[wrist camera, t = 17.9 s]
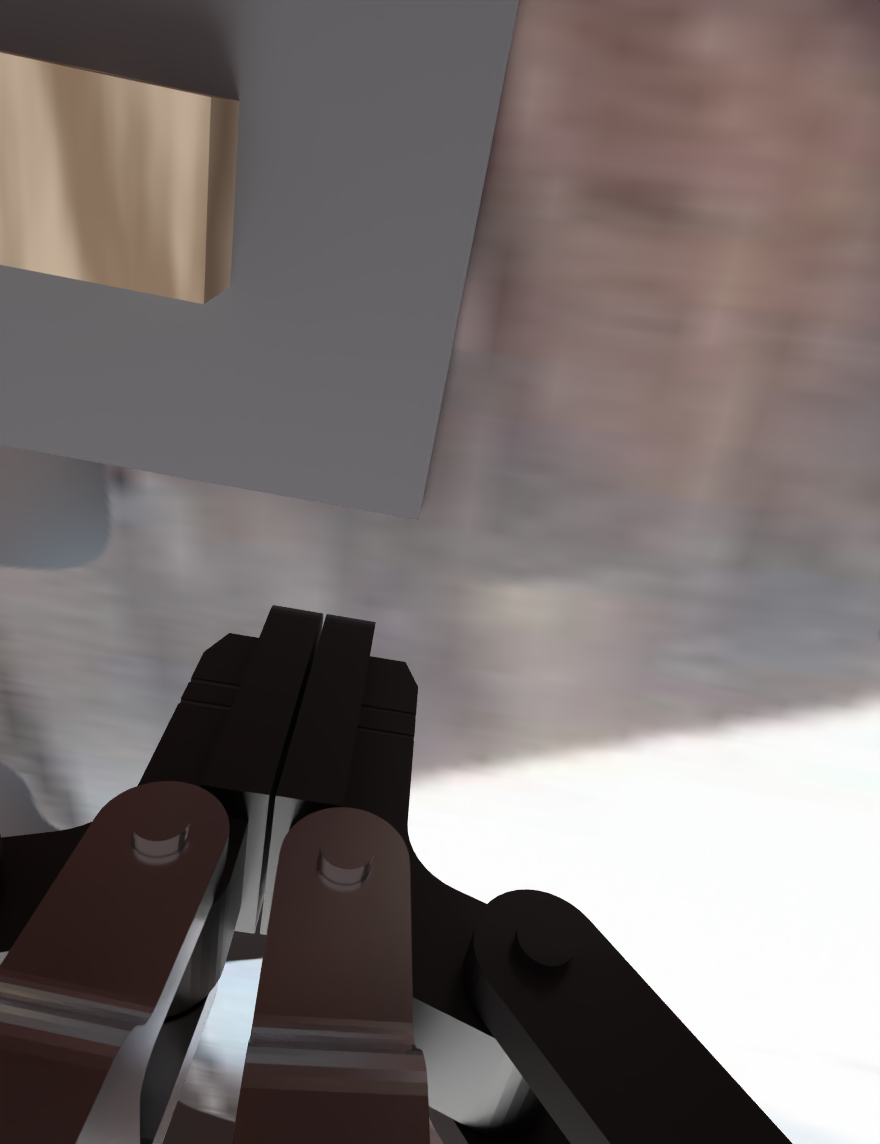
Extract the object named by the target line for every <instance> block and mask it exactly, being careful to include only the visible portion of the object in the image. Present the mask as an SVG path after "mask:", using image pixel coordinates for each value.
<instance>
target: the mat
mask: <svg viewBox="0 0 880 1144" xmlns="http://www.w3.org/2000/svg"><path fill="white" fill-rule="evenodd" d="M518 5H519V0H0V50H2V51H7V52H12V53H16V54H21V55H26V56H30V57H35V58H40V59H44V60H49V61H54V62H59V63H63V64H68V65H73V66H77V67H82V68H87V69H91V70H96V71H101V72H105V73H110V74H115V75H120V76H124V77H129V78H134V79H138V80H143V81H148V82H152V83H157V84H162V85H166V86H171V87H176V88H181V89H185V90H190V91H195V92H199V93H204V94H209V95H213V96H218V97H223V98H227V99H232V100H237V101H240V104H239V124H238V144H237V164H236V184H235V204H234V224H233V244H232V264H231V284H230V287H229V288H227V289H226V290H224V291H223V292H221V293H220V294H218V295H217V296H215V297H214V298H212V299H211V300H209V301H208V302H206V303H205V304H200V303H195V302H190V301H185V300H180V299H174V298H169V297H164V296H159V295H154V294H149V293H144V292H138V291H133V290H128V289H123V288H118V287H113V286H107V285H102V284H97V283H92V282H87V281H82V280H77V279H71V278H66V277H61V276H56V275H51V274H46V273H41V272H35V271H30V270H25V269H20V268H15V267H10V266H5V265H0V445H4V446H9V447H15V448H20V449H26V450H32V451H37V452H43V453H48V454H54V455H59V456H65V457H71V458H76V459H82V460H87V461H93V462H99V463H104V464H109V465H115V466H121V467H126V468H132V469H137V470H143V471H148V472H154V473H160V474H165V475H171V476H176V477H182V478H187V479H193V480H199V481H204V482H210V483H215V484H221V485H226V486H232V487H238V488H243V489H249V490H254V491H260V492H265V493H271V494H277V495H282V496H288V497H293V498H299V499H304V500H310V501H316V502H321V503H327V504H332V505H338V506H343V507H349V508H354V509H360V510H366V511H371V512H377V513H382V514H388V515H393V516H399V517H405V518H410V519H416V520H419V517H420V512H421V507H422V501H423V496H424V491H425V486H426V481H427V476H428V470H429V465H430V460H431V455H432V450H433V445H434V439H435V434H436V429H437V424H438V419H439V413H440V408H441V403H442V398H443V393H444V388H445V382H446V377H447V372H448V367H449V362H450V357H451V351H452V346H453V341H454V336H455V331H456V326H457V320H458V315H459V310H460V305H461V300H462V294H463V289H464V284H465V279H466V274H467V269H468V263H469V258H470V253H471V248H472V243H473V238H474V232H475V227H476V222H477V217H478V212H479V207H480V201H481V196H482V191H483V186H484V181H485V175H486V170H487V165H488V160H489V155H490V150H491V144H492V139H493V134H494V129H495V124H496V119H497V113H498V108H499V103H500V98H501V93H502V88H503V82H504V77H505V72H506V67H507V62H508V56H509V51H510V46H511V41H512V36H513V31H514V25H515V20H516V15H517V10H518Z"/></svg>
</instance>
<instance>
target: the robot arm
mask: <svg viewBox="0 0 880 1144" xmlns="http://www.w3.org/2000/svg"><path fill="white" fill-rule="evenodd" d="M375 623H376V622H371V621H365V620H359V619H353V618H347V617H341V616H335V615H329V614H327V615H326V618H325V621H324V625H323V628H322V624H323V614H322V613H316V612H311V611H305V610H299V609H293V608H287V607H281V606H275V605H273V606H272V608H271V610H270V612H269V615H268V617H267V620H266V622H265V625H264V627H263V630H262V632H261V635H260V637H259V638H256V637H250V636H244V635H238V634H232V633H229V634H227V635H226V636H225V637H223V638H222V639H221V640H219V641H218V642H217V643H215V644H214V645H213V646H211V647H210V648H209V649H207V650H206V651H205V652H204V653H203V655H202V657H201V659H200V661H199V663H198V665H197V667H196V669H195V671H194V673H193V675H192V677H191V682H189V683H188V685H187V687H186V689H185V691H184V693H183V695H182V697H181V702H180V704H178V706H177V708H176V710H175V712H174V714H173V716H172V718H171V720H170V722H169V724H168V726H167V728H166V730H165V732H164V734H163V736H162V738H161V740H160V742H159V744H158V746H157V748H156V750H155V752H154V754H153V756H152V758H151V760H150V762H149V764H148V766H147V768H146V770H145V772H144V774H143V776H142V778H141V780H140V782H139V784H138V786H137V787H134V788H131V789H129V790H127V791H125V792H123V793H121V794H119V795H118V796H116V797H115V798H113V799H112V800H110V801H109V802H108V803H107V804H106V805H105V806H104V807H103V808H102V809H101V810H100V812H99V813H98V814H97V816H96V817H95V818H94V820H93V822H90V823H88V824H85V825H82V826H79V827H75V828H71V829H67V830H61V831H55V832H46V833H38V834H30V835H21V836H13V837H3V838H1V836H0V1144H162V1141H163V1139H164V1136H165V1133H166V1130H167V1128H168V1125H169V1122H170V1120H171V1117H172V1114H173V1111H174V1109H175V1106H176V1103H177V1100H178V1098H179V1095H180V1092H181V1090H182V1087H183V1084H184V1081H185V1079H186V1076H187V1073H188V1070H189V1068H190V1065H191V1062H192V1059H193V1057H194V1054H195V1051H196V1049H197V1046H198V1043H199V1040H200V1038H201V1035H202V1032H203V1029H204V1027H205V1024H206V1021H207V1018H208V1016H209V1013H210V1010H211V1008H212V1005H213V1002H214V999H215V996H216V992H217V985H218V980H219V978H220V976H221V974H222V971H223V968H224V965H225V961H226V958H227V954H228V950H229V947H230V944H231V940H232V937H233V933H234V931H241V932H247V933H255V929H256V925H257V921H258V917H259V913H260V910H261V906H262V902H263V898H264V904H263V913H262V921H261V930H260V934H264V935H266V942H265V948H264V954H263V961H262V967H261V973H260V980H259V986H258V992H257V999H256V1005H255V1012H254V1018H253V1024H252V1030H251V1036H250V1040H249V1042H248V1047H247V1053H246V1059H245V1064H244V1071H243V1077H242V1083H241V1089H240V1095H239V1102H238V1108H237V1114H236V1120H235V1127H234V1133H233V1139H232V1144H430V1130H429V1117H430V1120H431V1122H432V1124H433V1126H434V1128H435V1130H436V1131H437V1133H438V1135H439V1136H440V1138H441V1140H442V1141H443V1143H444V1144H792V1143H791V1142H790V1140H789V1139H788V1138H787V1137H786V1136H785V1135H784V1134H783V1133H782V1132H781V1130H780V1129H779V1128H778V1127H777V1126H776V1125H775V1124H774V1123H773V1122H772V1121H771V1119H770V1118H769V1117H768V1116H767V1115H766V1114H765V1113H764V1112H763V1111H762V1110H761V1108H760V1107H759V1106H758V1105H757V1104H756V1103H755V1102H754V1101H753V1100H752V1099H751V1097H750V1096H749V1095H748V1094H747V1093H746V1092H745V1091H744V1090H743V1089H742V1088H741V1086H740V1085H739V1084H738V1083H737V1082H736V1081H735V1080H734V1079H733V1078H732V1077H731V1075H730V1074H729V1073H728V1072H727V1071H726V1070H725V1069H724V1068H723V1067H722V1066H721V1064H720V1063H719V1062H718V1061H717V1060H716V1059H715V1058H714V1057H713V1056H712V1055H711V1053H710V1052H709V1051H708V1050H707V1049H706V1048H705V1047H704V1046H703V1045H702V1044H701V1042H700V1041H699V1040H698V1039H697V1038H696V1037H695V1036H694V1035H693V1034H692V1032H691V1031H690V1030H689V1029H688V1028H687V1027H686V1026H685V1025H684V1024H683V1023H682V1021H681V1020H680V1019H679V1018H678V1017H677V1016H676V1015H675V1014H674V1013H673V1012H672V1010H671V1009H670V1008H669V1007H668V1006H667V1005H666V1004H665V1003H664V1002H663V1001H662V999H661V998H660V997H659V996H658V995H657V994H656V993H655V992H654V991H653V990H652V988H651V987H650V986H649V985H648V984H647V983H646V982H645V981H644V980H643V979H642V977H641V976H640V975H639V974H638V973H637V972H636V971H635V970H634V969H633V968H632V966H631V965H630V964H629V963H628V962H627V961H626V960H625V959H624V958H623V957H622V955H621V954H620V953H619V952H618V951H617V950H616V949H615V948H614V947H613V946H612V944H611V943H610V942H609V941H608V940H607V939H606V938H605V937H604V936H603V934H602V933H601V932H600V931H599V930H598V929H597V928H596V927H595V926H594V925H593V923H592V922H591V921H590V920H589V919H588V918H587V917H586V916H585V915H584V914H583V913H582V912H581V911H580V910H578V909H577V908H576V907H574V906H573V905H571V904H570V903H568V902H567V901H565V900H563V899H561V898H559V897H557V896H554V895H552V894H549V893H546V892H542V891H537V890H515V891H510V892H506V893H504V894H502V895H499V896H497V897H496V898H494V899H493V900H491V901H490V902H489V903H488V904H486V903H483V902H481V901H479V900H477V899H475V898H473V897H470V896H468V895H466V894H464V893H462V892H460V891H457V890H455V889H453V888H452V887H450V886H448V885H446V884H444V883H443V882H441V881H440V880H439V879H437V878H436V877H435V876H433V875H432V874H431V873H430V872H429V871H428V870H427V869H426V868H425V867H424V866H423V864H422V863H421V862H420V861H419V859H418V858H417V856H416V854H415V853H414V851H413V848H412V846H411V843H410V841H409V836H408V825H407V822H408V809H409V796H410V784H411V771H412V758H413V745H414V741H413V740H414V733H415V720H416V718H415V716H416V707H417V694H418V686H417V684H416V682H415V680H414V678H413V676H412V674H411V672H410V670H409V668H408V666H407V664H406V662H401V661H395V660H389V659H383V658H377V657H371V656H370V651H371V646H372V640H373V634H374V629H375ZM264 894H265V895H264Z"/></svg>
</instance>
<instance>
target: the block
mask: <svg viewBox="0 0 880 1144" xmlns="http://www.w3.org/2000/svg"><path fill="white" fill-rule="evenodd" d="M239 104H240V101H237V100H232V99H227V98H223V97H218V96H213V95H209V94H204V93H199V92H195V91H190V90H185V89H181V88H176V87H171V86H166V85H162V84H157V83H152V82H148V81H143V80H138V79H134V78H129V77H124V76H120V75H115V74H110V73H105V72H101V71H96V70H91V69H87V68H82V67H77V66H73V65H68V64H63V63H59V62H54V61H49V60H44V59H40V58H35V57H30V56H26V55H21V54H16V53H12V52H7V51H2V50H0V265H5V266H10V267H15V268H20V269H25V270H30V271H35V272H41V273H46V274H51V275H56V276H61V277H66V278H71V279H77V280H82V281H87V282H92V283H97V284H102V285H107V286H113V287H118V288H123V289H128V290H133V291H138V292H144V293H149V294H154V295H159V296H164V297H169V298H174V299H180V300H185V301H190V302H195V303H200V304H205V303H206V302H208V301H209V300H211V299H212V298H214V297H215V296H217V295H218V294H220V293H221V292H223V291H224V290H226V289H227V288H229V287H230V284H231V264H232V244H233V224H234V204H235V184H236V164H237V144H238V124H239Z"/></svg>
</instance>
